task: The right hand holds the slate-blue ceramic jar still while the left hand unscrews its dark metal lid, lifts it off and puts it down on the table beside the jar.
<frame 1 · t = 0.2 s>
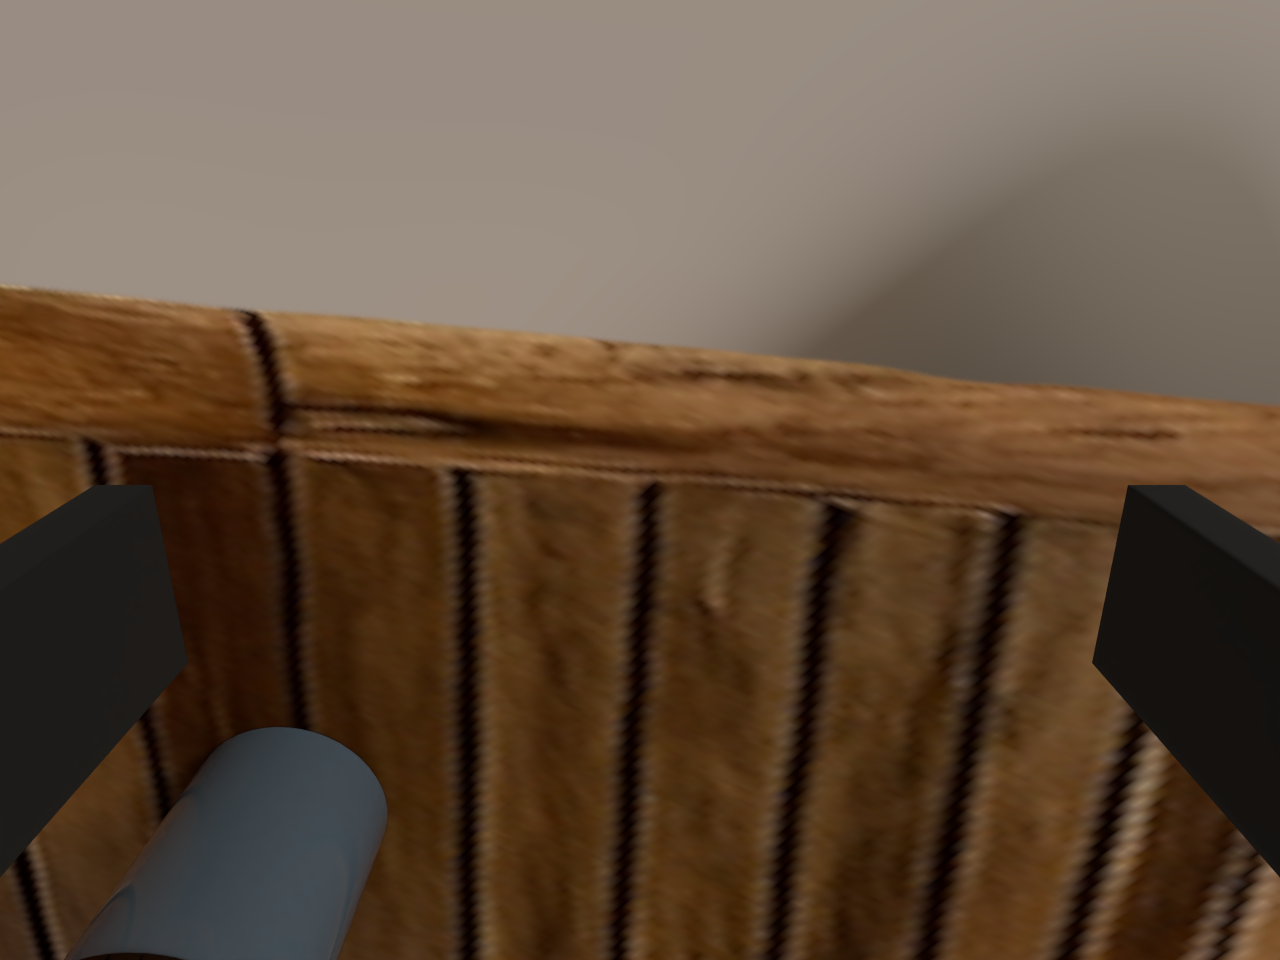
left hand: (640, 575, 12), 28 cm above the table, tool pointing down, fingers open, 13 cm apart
jar: (292, 806, 48), on the table
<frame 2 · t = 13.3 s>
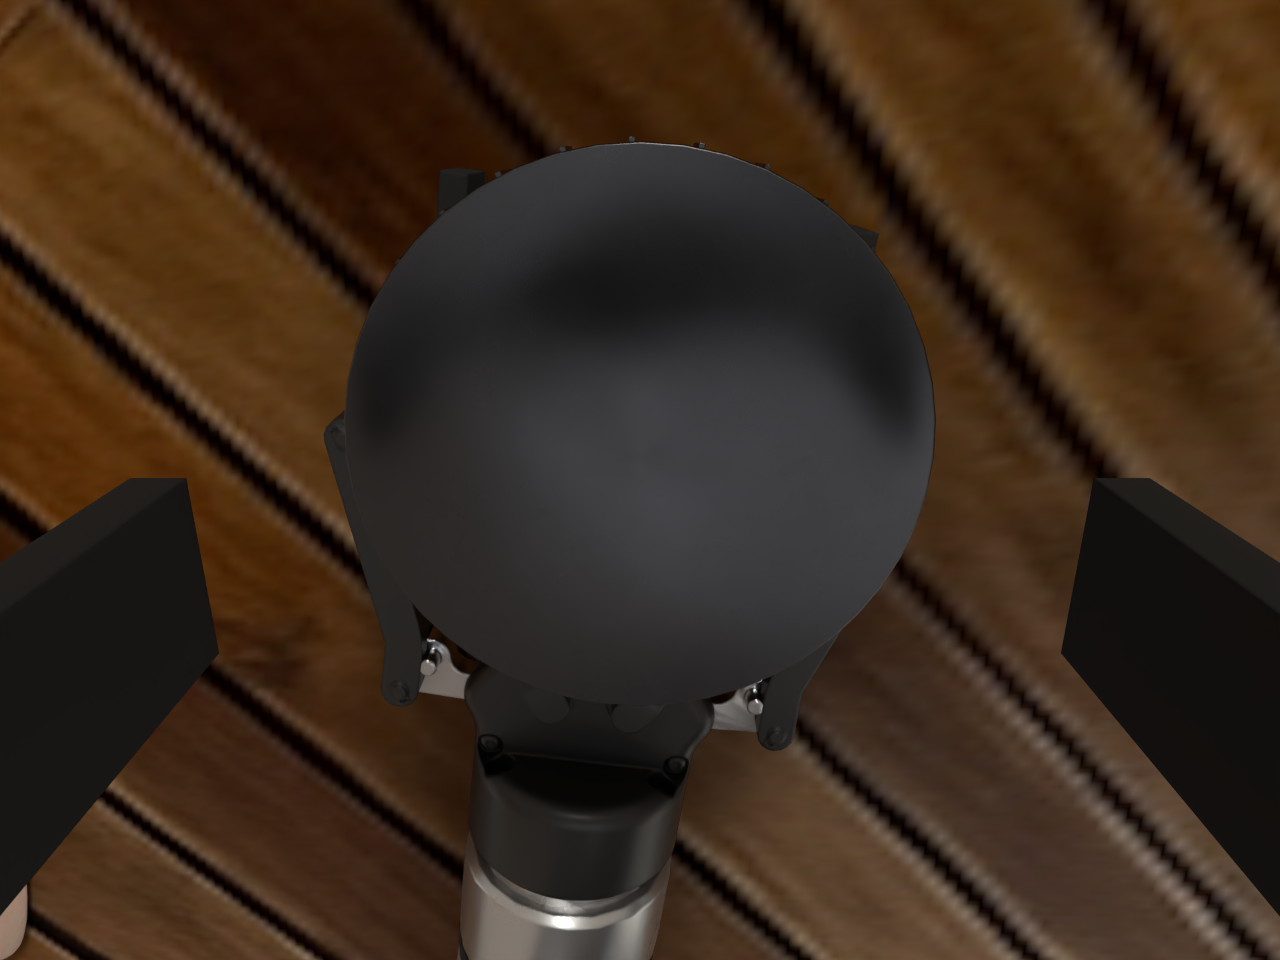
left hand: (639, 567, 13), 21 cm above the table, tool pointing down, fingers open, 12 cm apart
lid: (639, 450, 17), point 16 cm above the table, screwed on, not yet turned
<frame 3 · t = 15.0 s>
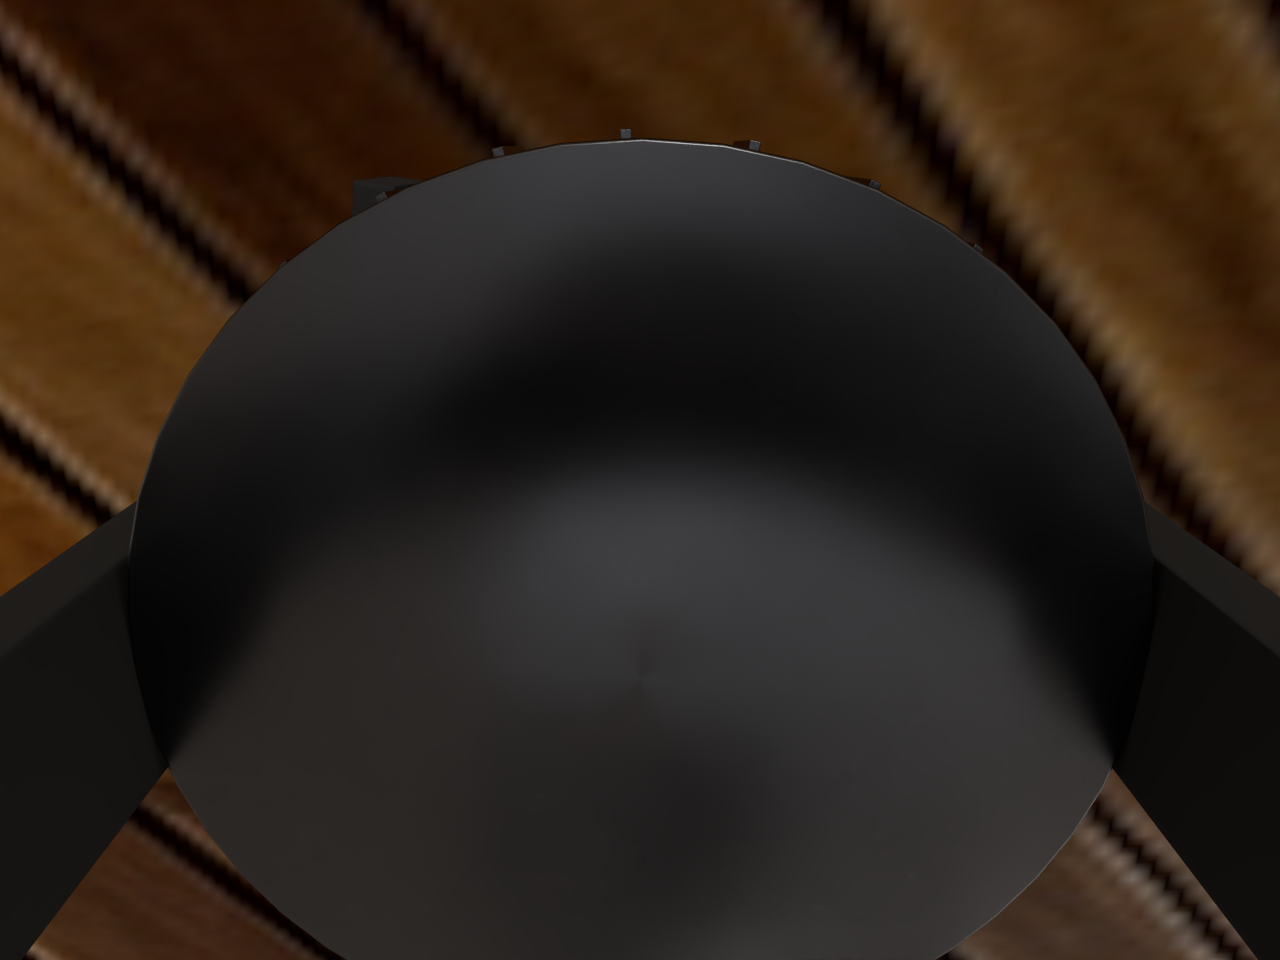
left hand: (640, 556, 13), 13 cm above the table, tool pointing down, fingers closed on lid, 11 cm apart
lid: (640, 662, 10), point 16 cm above the table, screwed on, not yet turned, touching left hand
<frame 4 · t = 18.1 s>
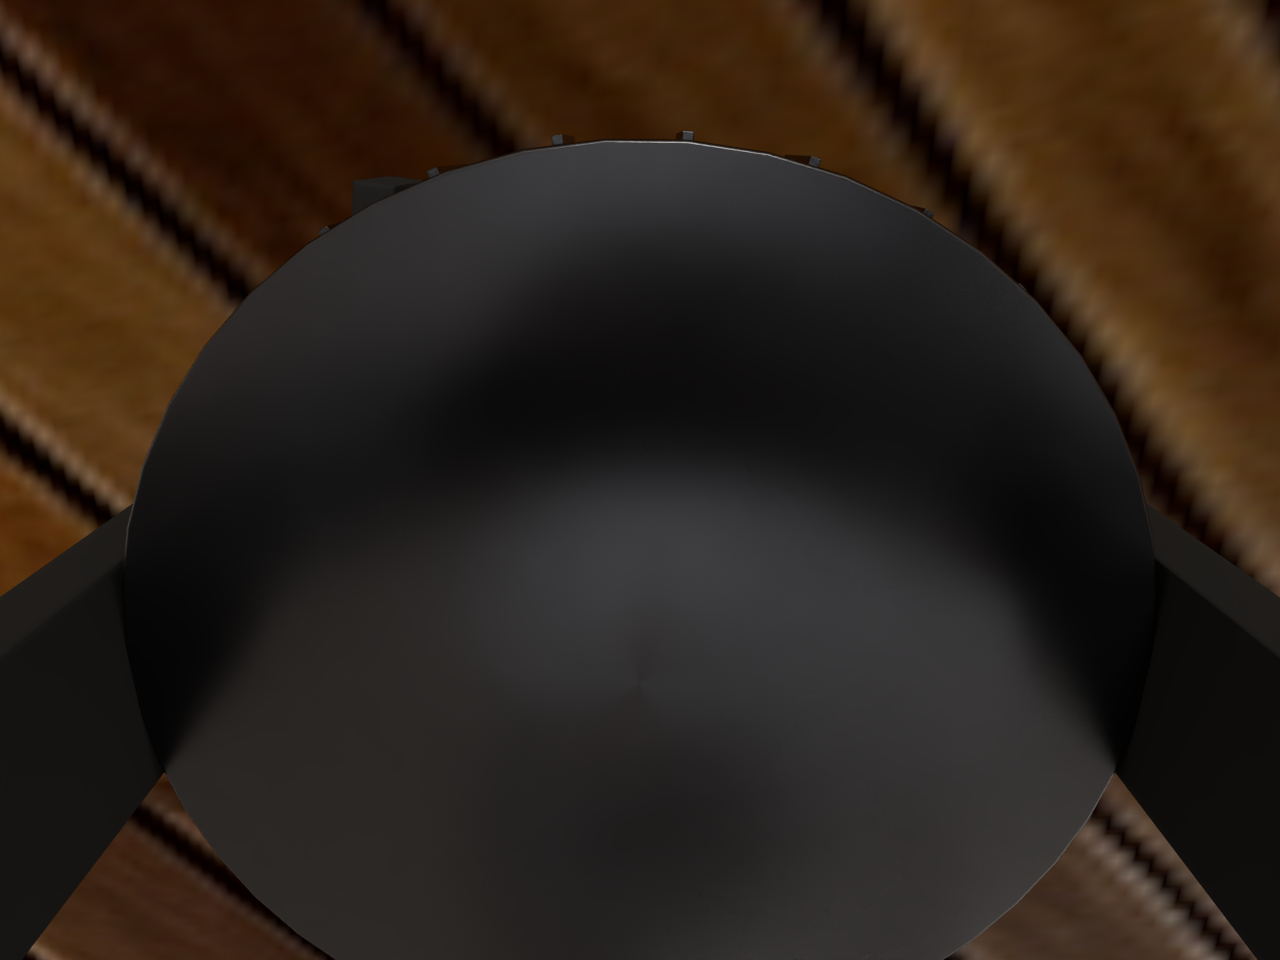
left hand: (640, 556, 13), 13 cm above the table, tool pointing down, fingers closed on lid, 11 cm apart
lid: (639, 665, 10), point 16 cm above the table, turned 93° so far, risen 0.1 cm, still on its thread, touching left hand
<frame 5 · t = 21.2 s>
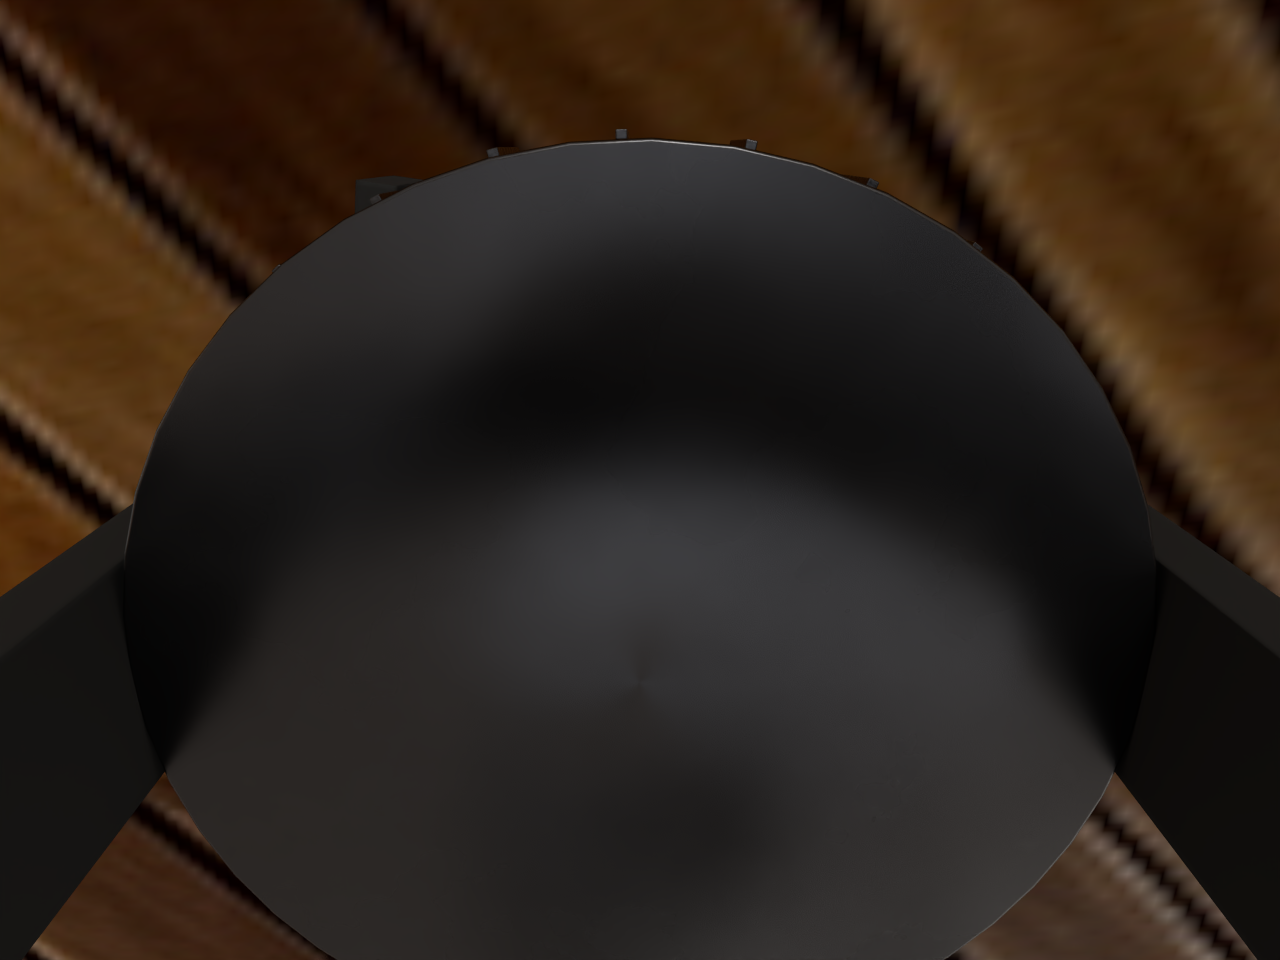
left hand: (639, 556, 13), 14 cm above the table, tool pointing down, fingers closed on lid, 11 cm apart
lid: (640, 665, 10), point 16 cm above the table, turned 187° so far, risen 0.3 cm, still on its thread, touching left hand
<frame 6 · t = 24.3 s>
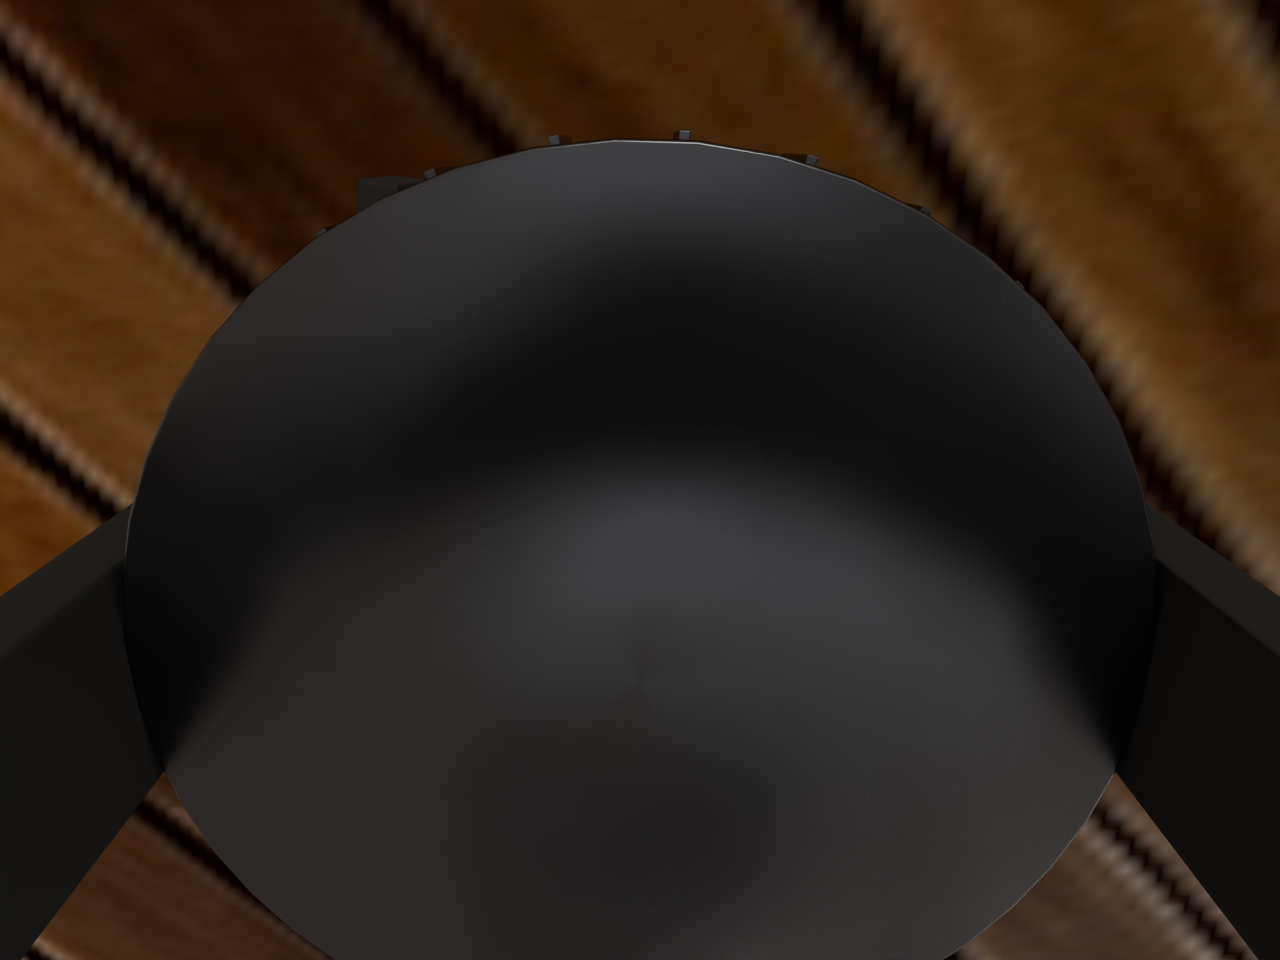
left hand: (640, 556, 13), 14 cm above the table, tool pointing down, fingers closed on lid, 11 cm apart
lid: (639, 665, 10), point 17 cm above the table, turned 280° so far, risen 0.4 cm, still on its thread, touching left hand
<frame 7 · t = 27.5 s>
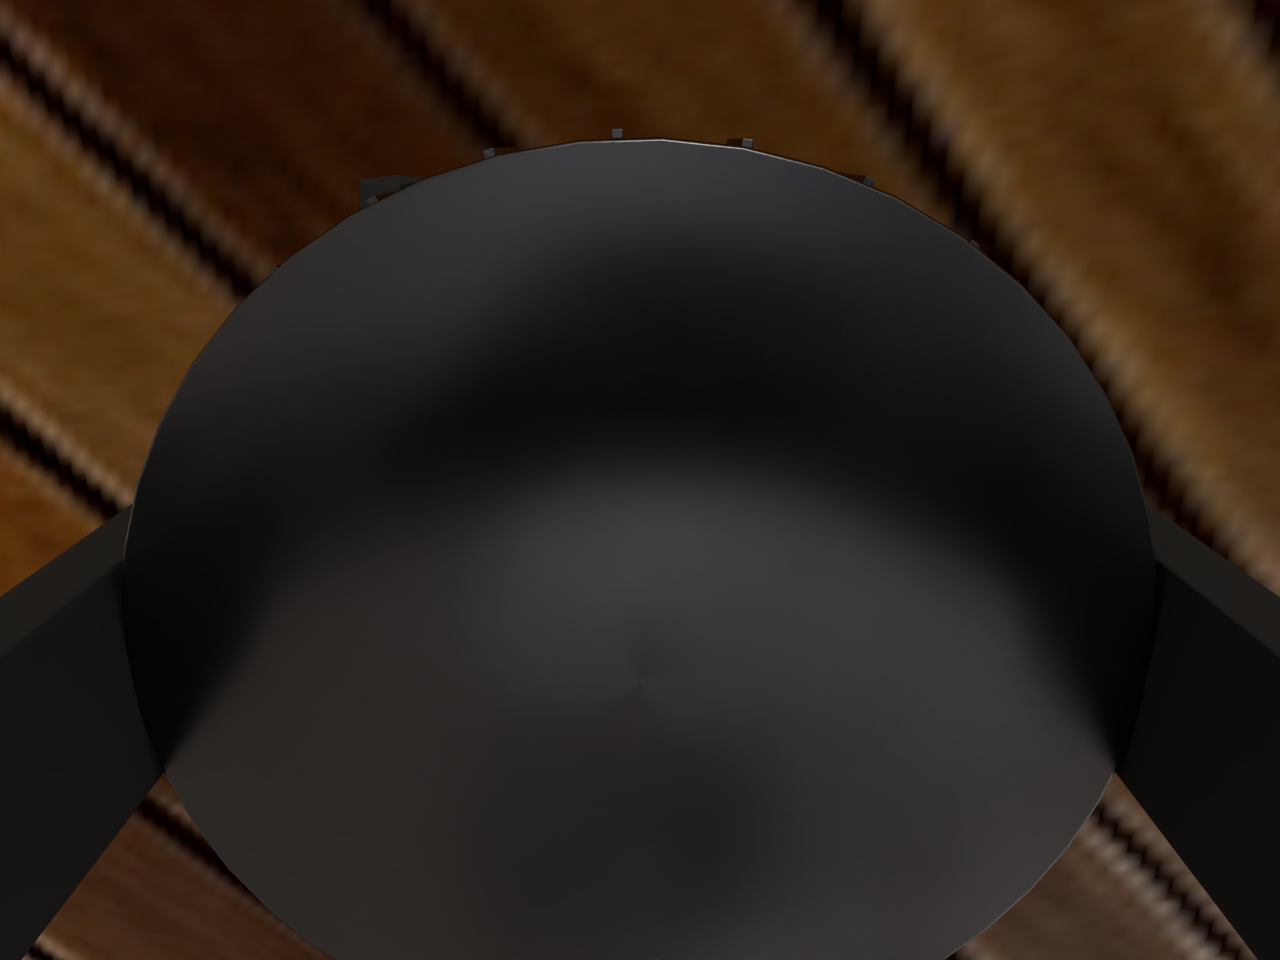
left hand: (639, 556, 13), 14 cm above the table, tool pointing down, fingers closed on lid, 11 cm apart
lid: (639, 665, 10), point 17 cm above the table, turned 373° so far, risen 0.6 cm, still on its thread, touching left hand
when the left hand's fingers open (0 cm above the table, at t = 33.6 s): lid drops 1 cm, point 2 cm above the table.
when the right hand's fingers open (6 cm above the table, at t = 34.7 s): jar stays where it is, on the table.
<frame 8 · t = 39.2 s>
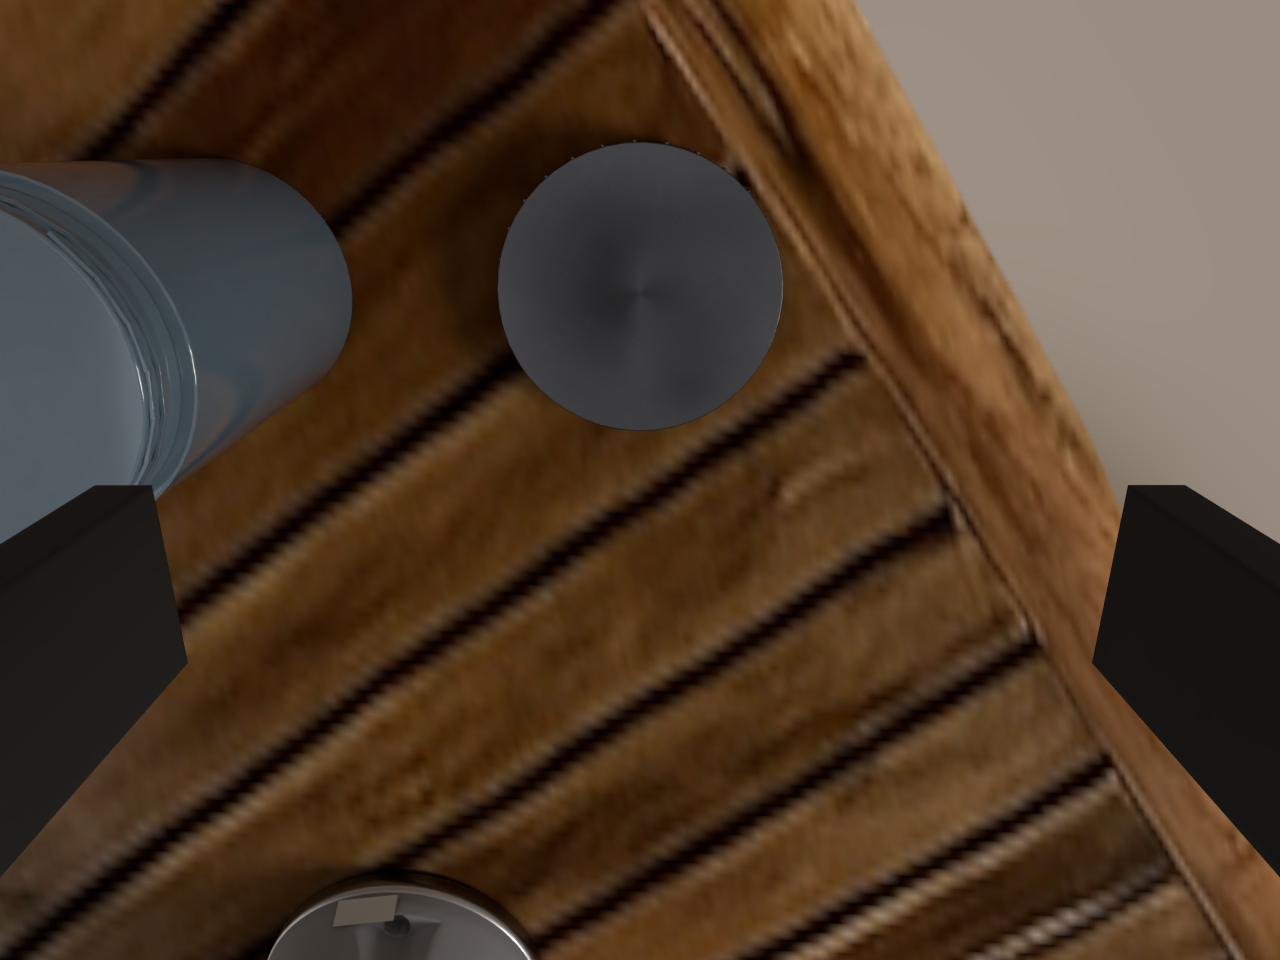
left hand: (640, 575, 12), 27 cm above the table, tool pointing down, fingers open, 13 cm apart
jar: (228, 288, 37), on the table
lid: (640, 293, 36), point 2 cm above the table, off its thread
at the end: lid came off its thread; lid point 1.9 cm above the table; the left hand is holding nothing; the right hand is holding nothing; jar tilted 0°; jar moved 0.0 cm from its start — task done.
